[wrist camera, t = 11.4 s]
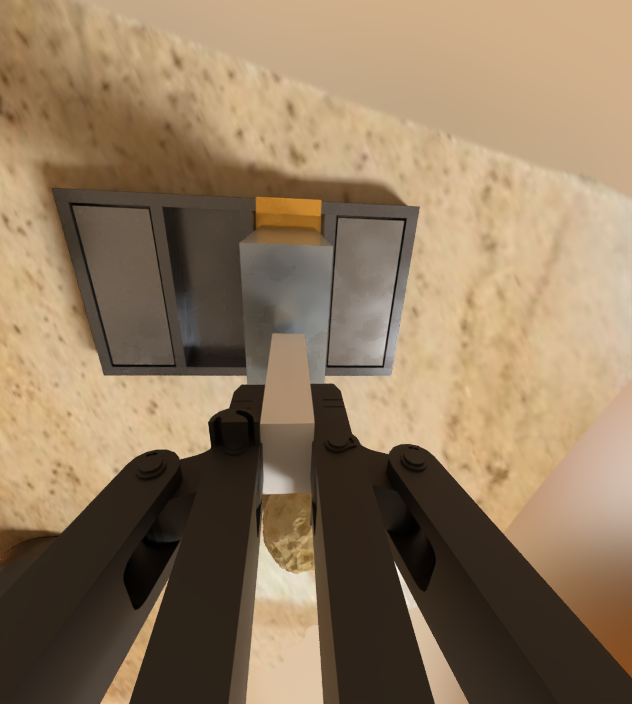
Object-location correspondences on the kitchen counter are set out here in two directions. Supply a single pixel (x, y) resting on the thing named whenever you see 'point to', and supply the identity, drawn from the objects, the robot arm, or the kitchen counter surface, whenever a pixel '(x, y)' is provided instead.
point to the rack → (226, 277)
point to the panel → (285, 294)
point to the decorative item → (289, 531)
